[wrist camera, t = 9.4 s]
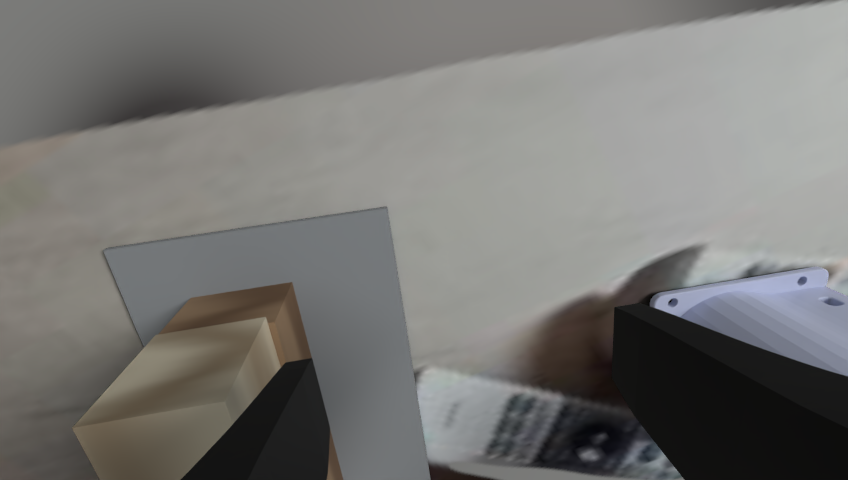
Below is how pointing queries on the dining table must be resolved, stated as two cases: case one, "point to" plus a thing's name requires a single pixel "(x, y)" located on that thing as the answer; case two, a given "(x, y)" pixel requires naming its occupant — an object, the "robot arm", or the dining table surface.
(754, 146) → the dining table surface
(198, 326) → the block
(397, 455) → the mat
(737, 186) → the dining table surface
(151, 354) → the plank
